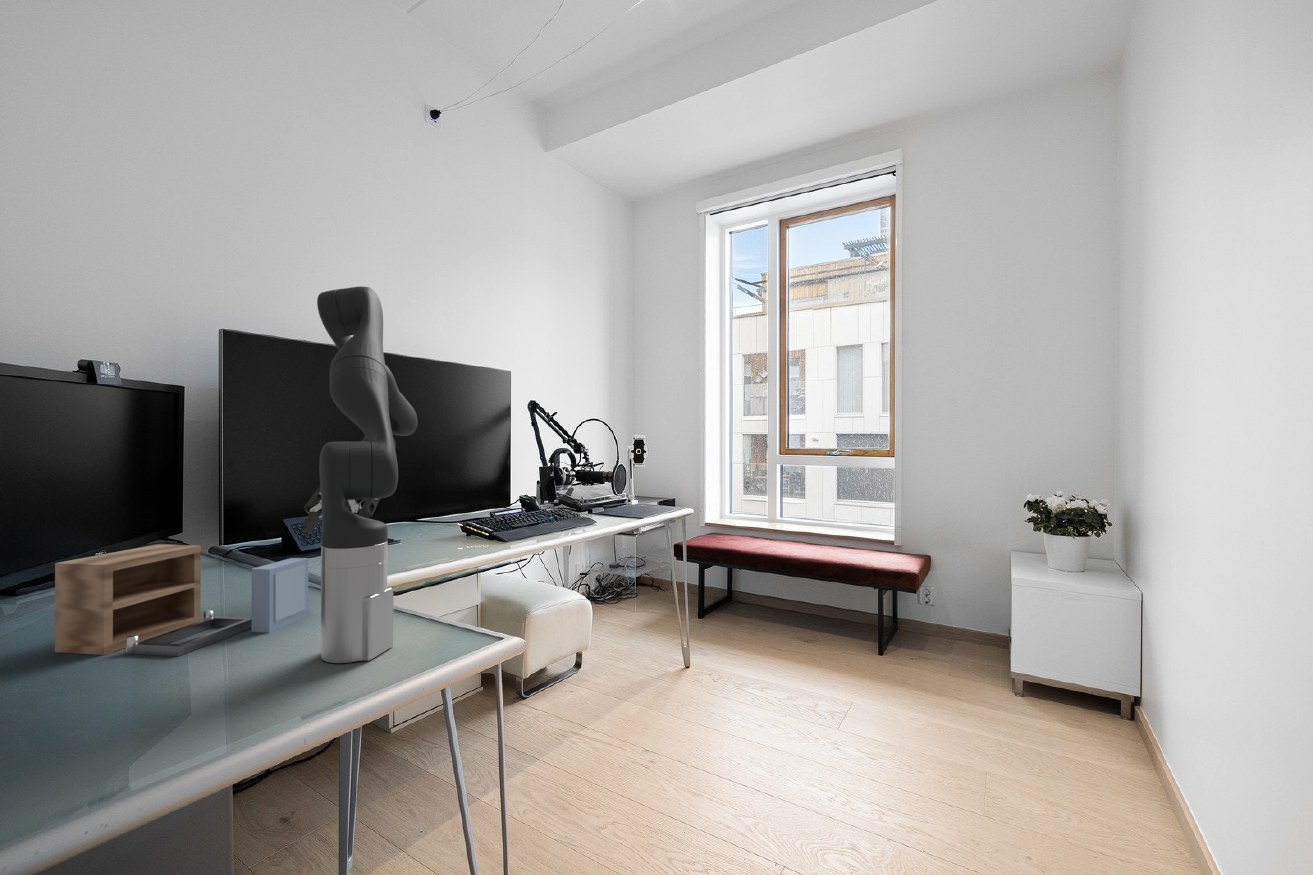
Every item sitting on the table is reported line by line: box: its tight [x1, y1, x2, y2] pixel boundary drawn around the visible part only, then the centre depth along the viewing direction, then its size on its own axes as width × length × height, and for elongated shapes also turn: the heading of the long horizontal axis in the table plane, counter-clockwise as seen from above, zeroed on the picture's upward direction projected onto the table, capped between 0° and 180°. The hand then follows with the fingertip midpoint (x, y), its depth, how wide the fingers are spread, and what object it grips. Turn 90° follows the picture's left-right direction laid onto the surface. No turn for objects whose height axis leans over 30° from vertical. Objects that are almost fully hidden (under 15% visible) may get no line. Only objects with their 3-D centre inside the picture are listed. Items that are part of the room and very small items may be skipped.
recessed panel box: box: [251, 557, 309, 634], centre depth 102 cm, size 4×9×11 cm, turn 173°
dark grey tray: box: [125, 609, 252, 657], centre depth 94 cm, size 10×14×2 cm, turn 173°
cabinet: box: [54, 543, 202, 656], centre depth 96 cm, size 9×16×14 cm, turn 173°
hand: (325, 530), depth 113 cm, fingers open, 8 cm apart
